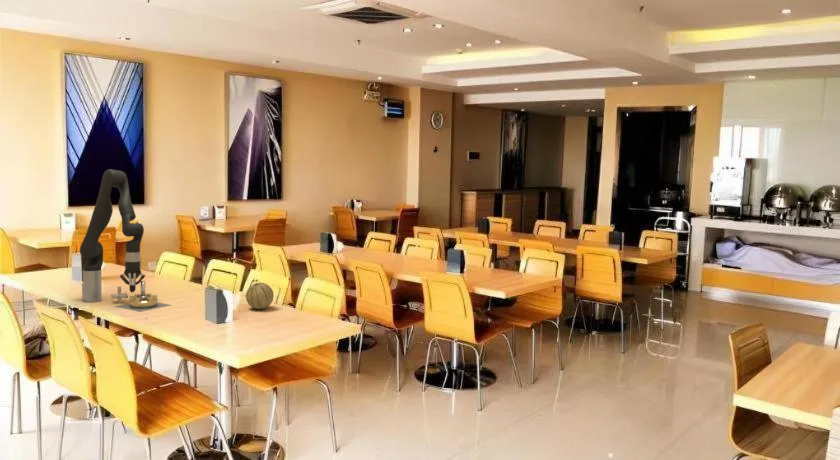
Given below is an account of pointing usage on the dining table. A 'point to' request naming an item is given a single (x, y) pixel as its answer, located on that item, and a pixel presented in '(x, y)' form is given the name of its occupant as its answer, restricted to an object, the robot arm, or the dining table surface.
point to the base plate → (143, 308)
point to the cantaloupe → (259, 296)
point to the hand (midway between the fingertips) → (132, 291)
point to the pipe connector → (119, 295)
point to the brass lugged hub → (143, 299)
